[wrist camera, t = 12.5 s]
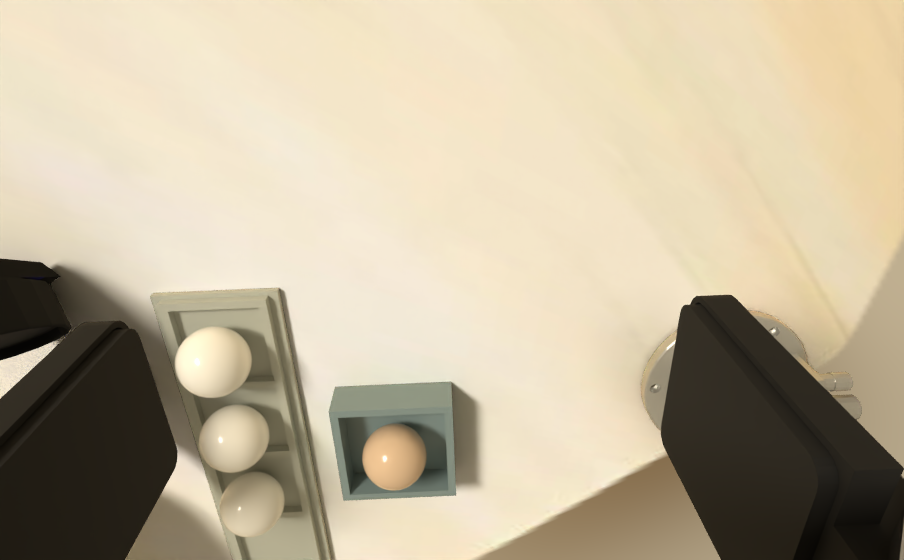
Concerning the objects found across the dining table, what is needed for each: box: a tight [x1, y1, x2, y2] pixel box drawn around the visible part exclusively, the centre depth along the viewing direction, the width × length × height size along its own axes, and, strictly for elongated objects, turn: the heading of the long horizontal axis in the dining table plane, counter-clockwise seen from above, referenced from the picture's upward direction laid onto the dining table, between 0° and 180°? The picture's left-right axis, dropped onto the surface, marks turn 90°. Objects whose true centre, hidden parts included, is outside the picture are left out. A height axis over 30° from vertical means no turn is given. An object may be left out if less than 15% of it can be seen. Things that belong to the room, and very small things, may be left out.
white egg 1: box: [175, 326, 252, 398], centre depth 40 cm, size 5×5×5 cm
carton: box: [150, 288, 332, 560], centre depth 47 cm, size 9×29×1 cm, turn 2°
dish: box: [329, 382, 456, 501], centre depth 46 cm, size 9×9×3 cm
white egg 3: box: [220, 471, 285, 537], centre depth 46 cm, size 5×5×5 cm
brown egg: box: [362, 423, 427, 491], centre depth 44 cm, size 5×5×5 cm
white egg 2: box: [199, 404, 269, 473], centre depth 43 cm, size 5×5×5 cm
